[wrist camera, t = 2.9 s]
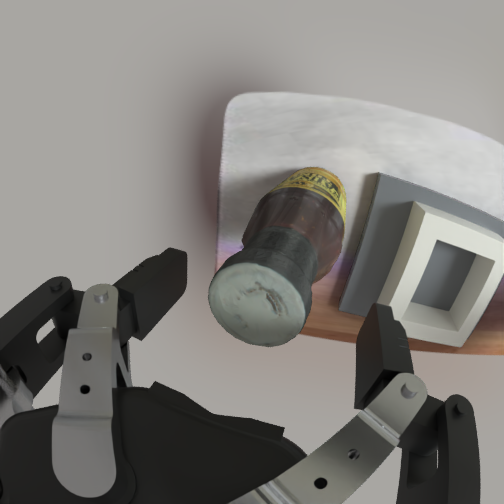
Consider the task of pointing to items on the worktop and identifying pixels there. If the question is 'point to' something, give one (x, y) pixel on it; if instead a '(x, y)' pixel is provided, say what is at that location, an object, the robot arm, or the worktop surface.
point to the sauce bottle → (281, 259)
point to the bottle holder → (426, 262)
